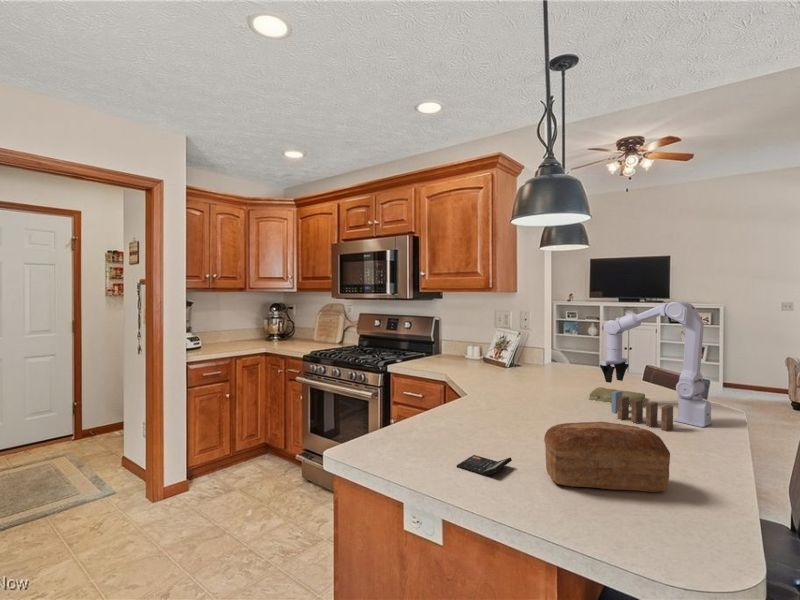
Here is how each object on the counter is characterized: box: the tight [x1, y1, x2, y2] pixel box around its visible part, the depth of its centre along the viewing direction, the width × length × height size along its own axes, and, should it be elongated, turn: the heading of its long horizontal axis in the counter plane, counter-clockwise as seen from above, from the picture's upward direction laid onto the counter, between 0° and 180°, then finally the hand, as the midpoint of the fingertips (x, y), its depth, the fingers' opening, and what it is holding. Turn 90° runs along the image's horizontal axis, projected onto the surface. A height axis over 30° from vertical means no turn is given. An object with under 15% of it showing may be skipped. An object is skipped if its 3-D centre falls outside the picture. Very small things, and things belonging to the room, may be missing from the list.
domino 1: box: [611, 390, 623, 414], centre depth 164 cm, size 2×5×8 cm, turn 125°
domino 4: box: [645, 401, 659, 428], centre depth 147 cm, size 2×5×8 cm, turn 125°
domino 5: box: [660, 404, 674, 432], centre depth 143 cm, size 2×5×8 cm, turn 125°
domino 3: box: [630, 399, 644, 424], centre depth 151 cm, size 2×5×8 cm, turn 125°
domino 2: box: [617, 396, 630, 421], centre depth 155 cm, size 2×5×8 cm, turn 125°
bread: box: [543, 421, 671, 493], centre depth 103 cm, size 12×28×14 cm, turn 82°
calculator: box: [456, 454, 513, 476], centre depth 111 cm, size 9×12×3 cm
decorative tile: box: [588, 386, 646, 407], centre depth 183 cm, size 19×20×4 cm
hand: (614, 381), depth 173 cm, fingers open, 7 cm apart
